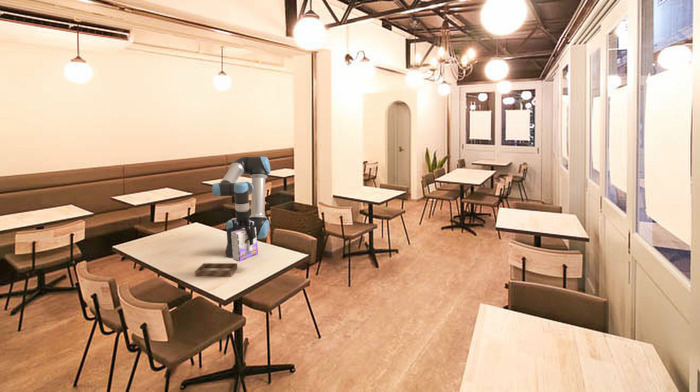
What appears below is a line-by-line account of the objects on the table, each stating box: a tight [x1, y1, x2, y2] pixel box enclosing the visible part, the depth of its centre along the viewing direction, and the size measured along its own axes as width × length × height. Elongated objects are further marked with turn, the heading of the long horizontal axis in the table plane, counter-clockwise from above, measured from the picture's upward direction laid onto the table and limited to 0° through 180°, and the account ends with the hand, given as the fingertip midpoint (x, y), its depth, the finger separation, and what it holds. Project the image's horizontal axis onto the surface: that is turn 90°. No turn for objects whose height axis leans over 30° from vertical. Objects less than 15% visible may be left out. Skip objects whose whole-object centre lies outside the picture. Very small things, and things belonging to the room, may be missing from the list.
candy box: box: [231, 227, 258, 263], centre depth 223 cm, size 14×6×16 cm, turn 145°
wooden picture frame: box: [194, 262, 238, 278], centre depth 227 cm, size 20×12×3 cm, turn 88°
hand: (245, 249), depth 224 cm, fingers closed on candy box, 7 cm apart
